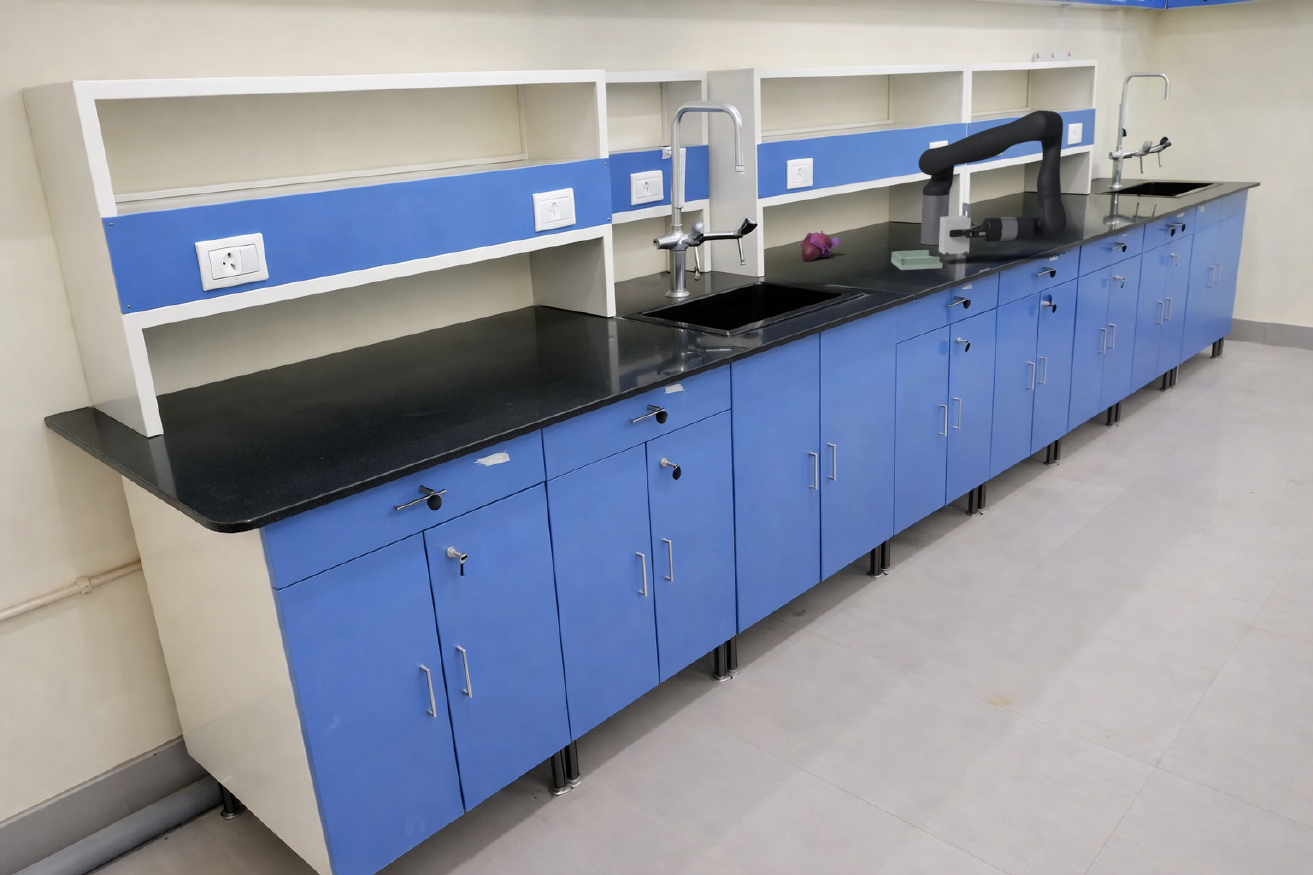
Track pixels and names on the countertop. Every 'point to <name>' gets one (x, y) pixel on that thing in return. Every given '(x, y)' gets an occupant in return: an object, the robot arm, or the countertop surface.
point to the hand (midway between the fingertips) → (947, 232)
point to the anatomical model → (817, 246)
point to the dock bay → (915, 260)
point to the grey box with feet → (954, 223)
